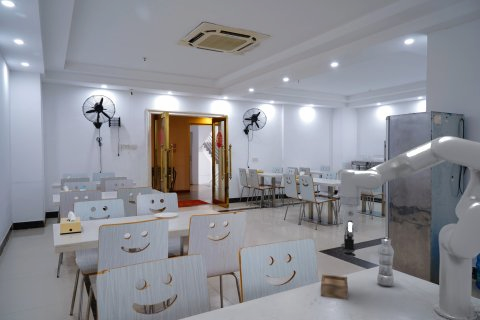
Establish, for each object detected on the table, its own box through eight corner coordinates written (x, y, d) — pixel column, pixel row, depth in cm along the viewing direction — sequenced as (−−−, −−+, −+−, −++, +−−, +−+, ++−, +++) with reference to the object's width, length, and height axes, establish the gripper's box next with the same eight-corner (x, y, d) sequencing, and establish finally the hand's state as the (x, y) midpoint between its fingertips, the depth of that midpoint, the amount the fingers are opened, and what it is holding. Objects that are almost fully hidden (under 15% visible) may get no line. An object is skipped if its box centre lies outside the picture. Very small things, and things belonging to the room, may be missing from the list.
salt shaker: (357, 257, 124) (358, 226, 124) (341, 256, 125) (342, 225, 125) (355, 252, 130) (356, 222, 129) (339, 251, 131) (340, 222, 130)
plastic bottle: (375, 285, 139) (376, 239, 139) (379, 280, 145) (379, 236, 145) (392, 289, 136) (392, 241, 135) (395, 284, 141) (395, 238, 141)
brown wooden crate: (346, 289, 135) (347, 277, 135) (347, 299, 126) (347, 286, 126) (322, 286, 138) (322, 274, 138) (320, 296, 129) (321, 283, 129)
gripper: (362, 205, 117) (360, 254, 118) (358, 198, 134) (357, 242, 135) (340, 203, 120) (339, 252, 120) (339, 197, 136) (338, 240, 137)
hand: (348, 246), depth 127 cm, fingers closed on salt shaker, 5 cm apart
